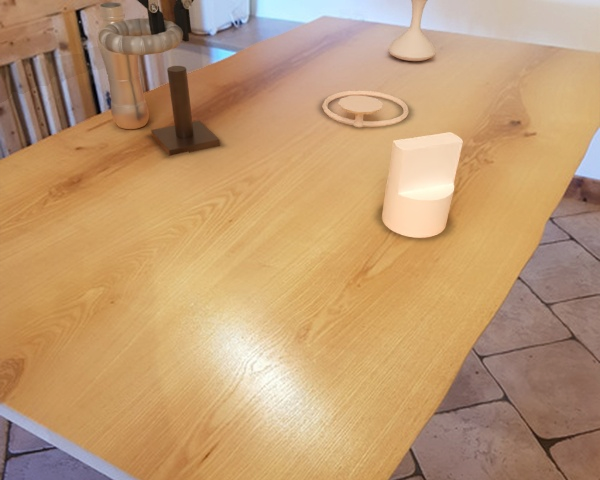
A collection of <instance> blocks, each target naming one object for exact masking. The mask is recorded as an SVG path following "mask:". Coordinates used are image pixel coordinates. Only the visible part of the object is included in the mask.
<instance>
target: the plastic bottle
mask: <svg viewBox="0 0 600 480" xmlns="http://www.w3.org/2000/svg"><path fill="white" fill-rule="evenodd" d="M98 9H99V13H100V14H99V16H100V19H101V20H102V24H101V26H100V28H99V31H98V32H97V46H98V48H99V52H100V54H101V58H102V61H103V64H104V67H105V71H106V75H107V79H108V80H107V81H108V84H109V93H110V100H111V101H110V113H111V116H112V120H113V122H114V123H115V124H116V125H117V126H118V127H119V128H121V129H125V130H137V129H140V128H142V127H145V126H146V125H147V124H148V122H149V120H150V110H149V107H148V103H147V100H146V99H145V94H144V92H143V87H142V83H141V77H140V68H139V55H124V54H119V53H115V52H111V51H108V50H107V49H106V48H105V47H104V46H103V45H102V44H101V43H100V41H99V37H98V36H99V33H100V31H101V30H102V29H103V28H104V27H105V26H106V25H108V24H111V23H115V22H118V21H121V20H125V18H126V14H125V12H124V7H123V4H122V3H120V2H114V1H113V2H112V1H111V2H109V1H108V2H102V3H100V4H99V5H98Z"/></svg>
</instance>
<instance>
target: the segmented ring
mask: <svg viewBox="0 0 600 480" xmlns="http://www.w3.org/2000/svg"><path fill="white" fill-rule="evenodd" d="M164 25H165V32H162V33H159V34H155V35H151V32H150V25H149V18H148V17H147V18H142V17H140V18H139V17H138V18H131V19H129V18H128V19H124V20H121V21H118V22H115V23H111V24H108V25H106V26H105V27H104V28H103V29H102V30H101V31H100V33H99V32H98V33H99V36H98V35H97V38H98V37H99V41H100V43H101V44H102V45H103V46H104V47H105V48H106V49H107V50H108V51H111V52H115V53H119V54H124V55H138V56H147V55H148V56H149V55H155V54H162V53H165V52H168V51H171V50H173V49H175V48H178V47H179V46H180V44H181V43H182V41H183V40H182V39H183V31H182V29H181V28H180V27H179V26H177V25H176V24H175V22H173V21H171V20H167V19H164Z"/></svg>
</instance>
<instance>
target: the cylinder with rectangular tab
mask: <svg viewBox="0 0 600 480" xmlns="http://www.w3.org/2000/svg"><path fill="white" fill-rule="evenodd" d="M463 143H464V141H463V139H462V138H461V137H460V136H459V135H457V134H456V133H453V132H451V131H449V132H443V133H434V134H429V135H422V136H414V137H408V138H402V139H394V140H392V146H391V153H390V159H389V160H390V161H389V168H388V175H387V178H386V184H385V190H384V197H383V206H382V214H381V220H382V221H381V222H383V224H384V226H385V227H387V228H388V229H389V230H390V231H392V232H394V233H395V234H398V235H402V236H403V237H410V238H420V239H424V238H431V237H434V236H436V235H439V234H441V233H442V232H443V231H444V230H445V229H446V226H447V222H448V218H449V214H450V210H451V204H452V200H453V196H454V192H455V178H456V174H457V170H458V165H459V161H460V157H461V152H462V149H463V148H462V147H463Z"/></svg>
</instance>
